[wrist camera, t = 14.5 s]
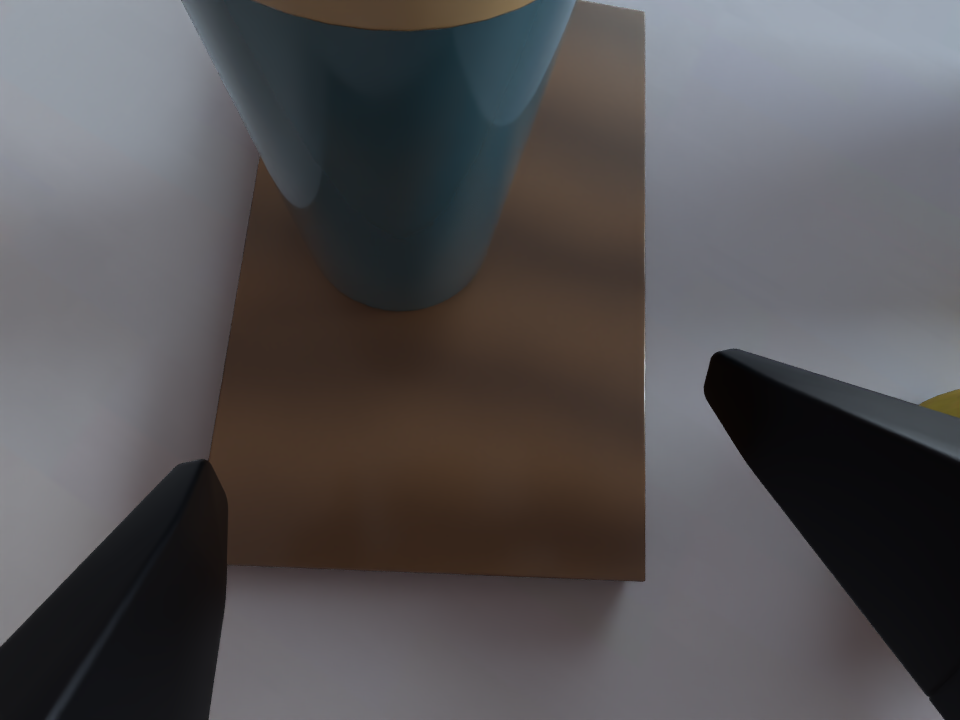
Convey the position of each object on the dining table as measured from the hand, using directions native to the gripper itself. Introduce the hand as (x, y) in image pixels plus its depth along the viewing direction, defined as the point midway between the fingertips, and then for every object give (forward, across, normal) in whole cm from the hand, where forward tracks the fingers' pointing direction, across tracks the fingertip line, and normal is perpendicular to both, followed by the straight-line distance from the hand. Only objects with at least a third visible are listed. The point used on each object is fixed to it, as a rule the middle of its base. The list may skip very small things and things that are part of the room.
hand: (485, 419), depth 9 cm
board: (+11, -2, +1) cm, 11 cm away
